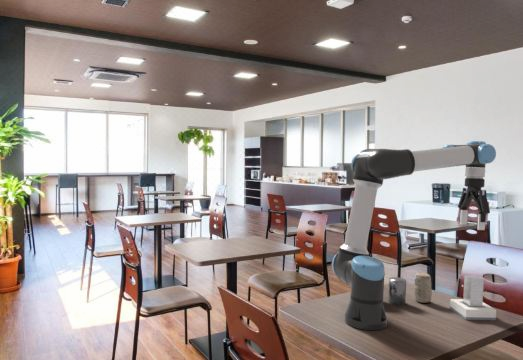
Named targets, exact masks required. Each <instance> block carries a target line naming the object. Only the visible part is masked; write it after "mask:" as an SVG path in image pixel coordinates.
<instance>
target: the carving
mask: <svg viewBox="0 0 523 360" xmlns="http://www.w3.org/2000/svg"><path fill="white" fill-rule="evenodd" d="M413 288H414V289H413V290H414V292H413V293H414V298H415V299H414V300H415V301H416V302H418V303H424V304H425V303H429V302H431V301H432V295H433V294H432V293H433V292H432V277H431V275H430V274H428V273H426V272H417V273H416V274H415V275H414V285H413Z"/></svg>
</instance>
